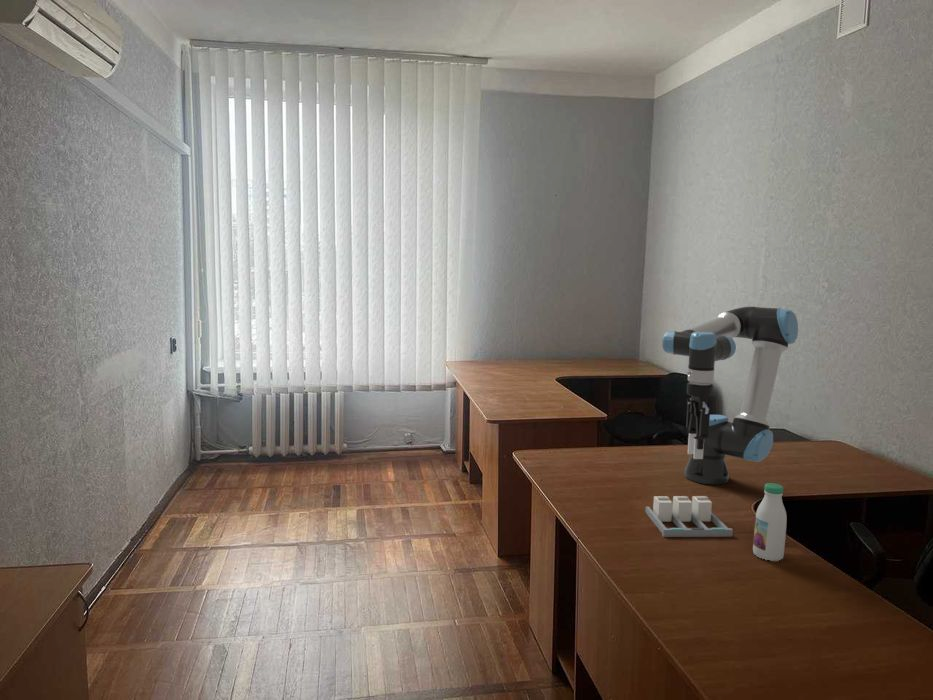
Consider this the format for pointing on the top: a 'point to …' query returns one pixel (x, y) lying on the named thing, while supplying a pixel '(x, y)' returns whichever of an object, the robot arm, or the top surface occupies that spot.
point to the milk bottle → (770, 525)
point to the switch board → (691, 532)
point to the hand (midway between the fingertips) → (695, 456)
